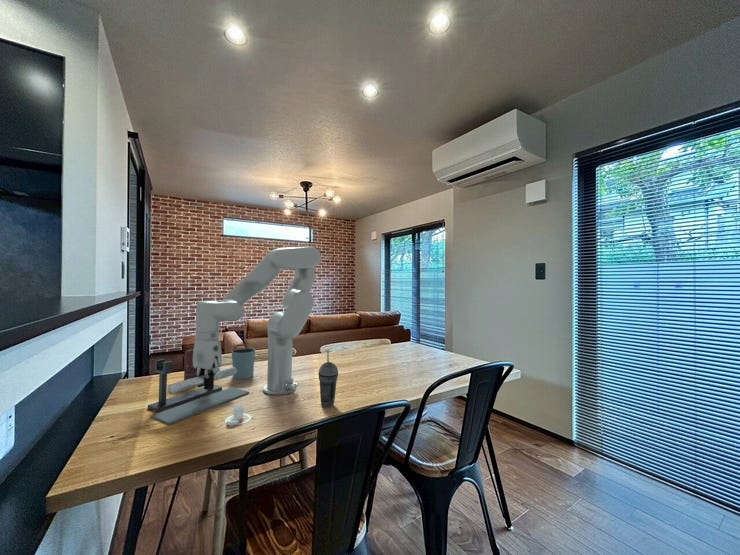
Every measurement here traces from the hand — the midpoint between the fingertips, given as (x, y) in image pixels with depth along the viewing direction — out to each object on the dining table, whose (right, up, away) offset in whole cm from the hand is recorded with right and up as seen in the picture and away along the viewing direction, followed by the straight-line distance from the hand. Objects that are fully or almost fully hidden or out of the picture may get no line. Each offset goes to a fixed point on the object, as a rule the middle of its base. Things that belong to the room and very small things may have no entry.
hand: (205, 386), depth 107 cm
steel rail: (0, +3, 0) cm, 3 cm away
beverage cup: (+43, -8, +2) cm, 44 cm away
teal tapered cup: (0, -7, +31) cm, 32 cm away
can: (-18, -6, +22) cm, 29 cm away
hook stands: (-9, -6, +5) cm, 12 cm away
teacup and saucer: (+14, -7, -12) cm, 19 cm away
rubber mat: (0, -6, 0) cm, 6 cm away
